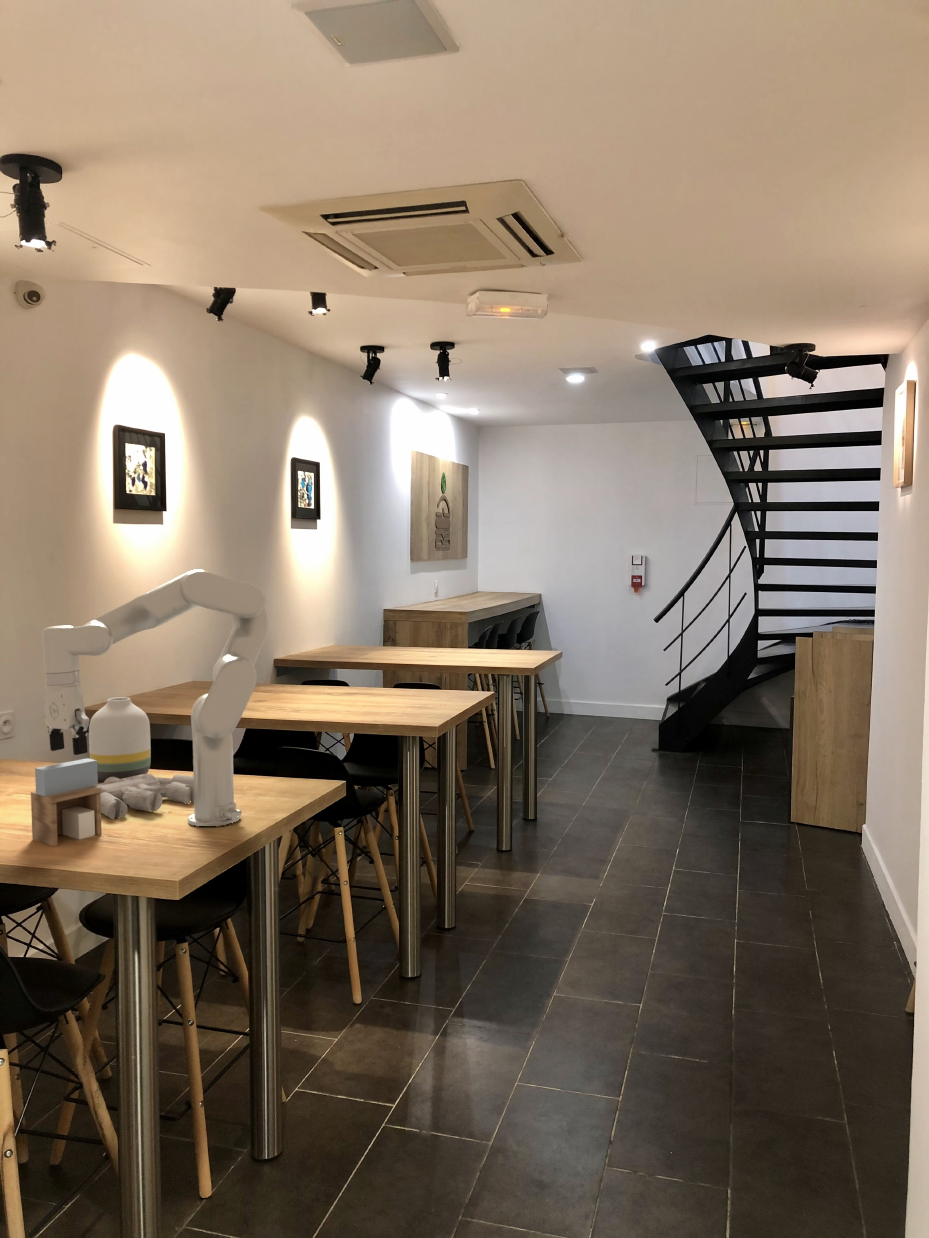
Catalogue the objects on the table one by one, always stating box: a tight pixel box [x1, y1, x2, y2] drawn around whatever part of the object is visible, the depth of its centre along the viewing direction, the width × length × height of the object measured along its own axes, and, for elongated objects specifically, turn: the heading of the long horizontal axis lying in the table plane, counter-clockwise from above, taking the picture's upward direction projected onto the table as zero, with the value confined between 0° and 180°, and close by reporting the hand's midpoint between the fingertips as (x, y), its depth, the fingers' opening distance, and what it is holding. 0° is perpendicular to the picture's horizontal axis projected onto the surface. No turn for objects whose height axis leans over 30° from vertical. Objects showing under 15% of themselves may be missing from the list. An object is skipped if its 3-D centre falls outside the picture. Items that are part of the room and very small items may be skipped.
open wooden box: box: [30, 786, 103, 847], centre depth 217 cm, size 9×12×11 cm
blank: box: [34, 757, 99, 796], centre depth 217 cm, size 13×4×6 cm, turn 142°
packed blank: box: [62, 806, 96, 840], centre depth 219 cm, size 7×4×6 cm, turn 53°
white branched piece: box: [97, 773, 194, 820], centre depth 250 cm, size 31×7×30 cm
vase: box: [88, 696, 152, 783], centre depth 274 cm, size 17×17×24 cm
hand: (68, 751), depth 217 cm, fingers open, 9 cm apart
